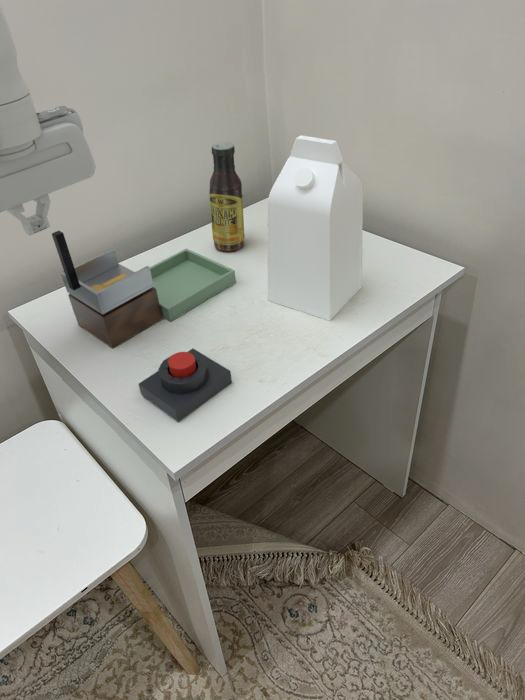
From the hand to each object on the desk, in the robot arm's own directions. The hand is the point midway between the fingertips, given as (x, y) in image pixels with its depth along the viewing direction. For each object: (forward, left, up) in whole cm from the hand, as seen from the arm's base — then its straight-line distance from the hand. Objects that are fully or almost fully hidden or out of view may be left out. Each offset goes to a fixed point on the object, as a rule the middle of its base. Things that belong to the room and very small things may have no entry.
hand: (37, 230), depth 73 cm
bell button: (+5, -21, -16) cm, 27 cm away
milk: (+35, -20, -20) cm, 45 cm away
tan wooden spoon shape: (+8, 0, -13) cm, 15 cm away
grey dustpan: (+7, 0, -14) cm, 15 cm away
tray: (+21, 0, -20) cm, 29 cm away
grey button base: (+5, -21, -20) cm, 29 cm away
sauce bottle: (+38, +4, -20) cm, 43 cm away
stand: (+8, 0, -20) cm, 22 cm away
